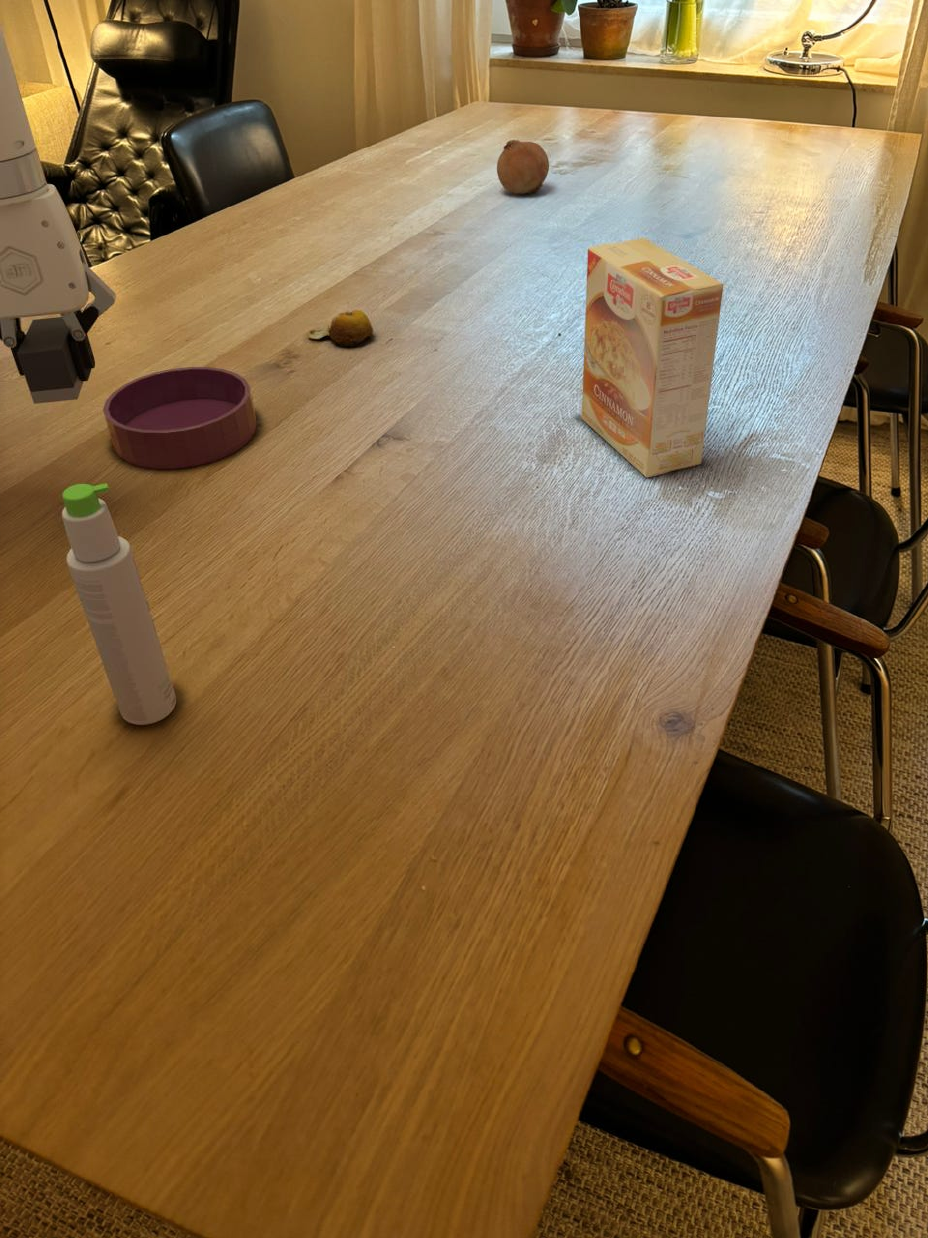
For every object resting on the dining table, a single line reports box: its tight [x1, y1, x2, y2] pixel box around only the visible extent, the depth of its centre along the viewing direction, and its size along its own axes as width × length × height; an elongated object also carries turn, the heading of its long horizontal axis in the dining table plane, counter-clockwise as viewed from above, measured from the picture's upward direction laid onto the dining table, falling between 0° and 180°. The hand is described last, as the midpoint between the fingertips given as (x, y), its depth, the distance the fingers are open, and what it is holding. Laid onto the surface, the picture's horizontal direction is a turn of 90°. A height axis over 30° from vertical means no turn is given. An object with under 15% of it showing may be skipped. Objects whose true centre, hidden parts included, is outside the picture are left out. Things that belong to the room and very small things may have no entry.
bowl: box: [102, 366, 257, 470], centre depth 113 cm, size 16×16×4 cm
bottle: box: [61, 482, 177, 726], centre depth 73 cm, size 4×4×20 cm
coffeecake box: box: [580, 237, 725, 478], centre depth 103 cm, size 15×7×20 cm, turn 22°
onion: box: [496, 139, 550, 196], centre depth 180 cm, size 10×9×10 cm
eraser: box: [17, 316, 84, 405], centre depth 94 cm, size 4×8×5 cm, turn 9°
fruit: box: [307, 309, 374, 348], centre depth 133 cm, size 8×8×4 cm
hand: (60, 376), depth 95 cm, fingers closed on eraser, 4 cm apart
